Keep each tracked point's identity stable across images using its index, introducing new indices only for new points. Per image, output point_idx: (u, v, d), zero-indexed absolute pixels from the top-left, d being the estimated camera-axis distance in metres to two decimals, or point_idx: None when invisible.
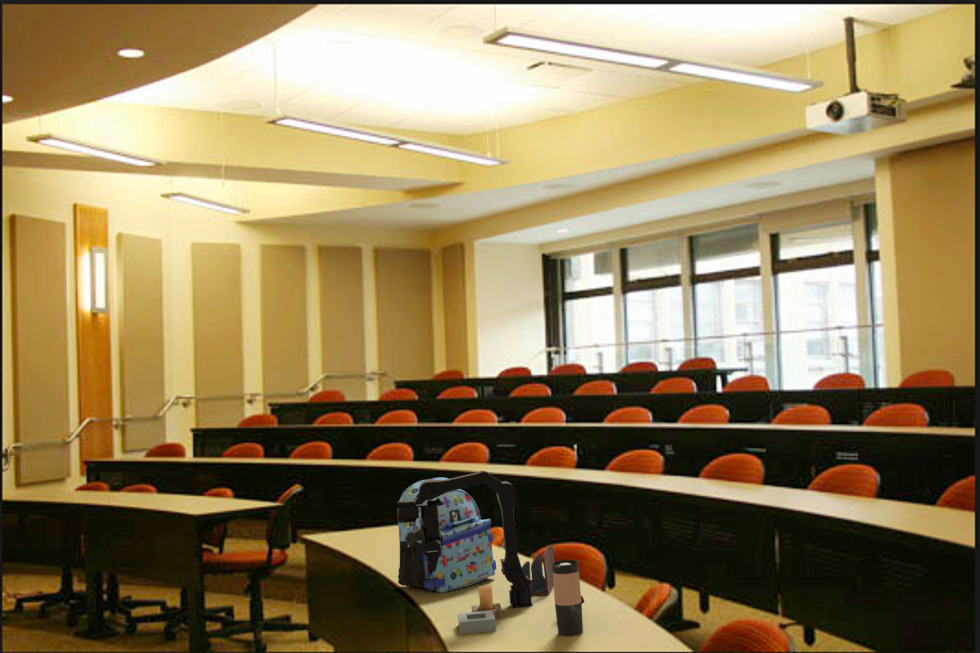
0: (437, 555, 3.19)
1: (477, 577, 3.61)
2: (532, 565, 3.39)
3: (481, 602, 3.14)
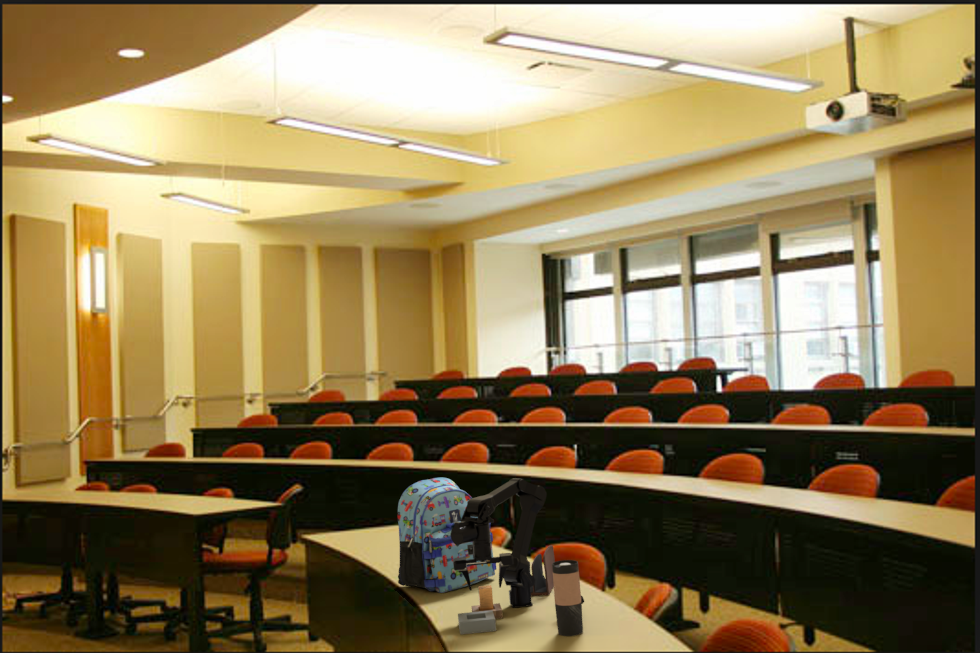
0: (464, 575, 3.15)
1: (477, 577, 3.61)
2: (532, 565, 3.39)
3: (481, 602, 3.14)
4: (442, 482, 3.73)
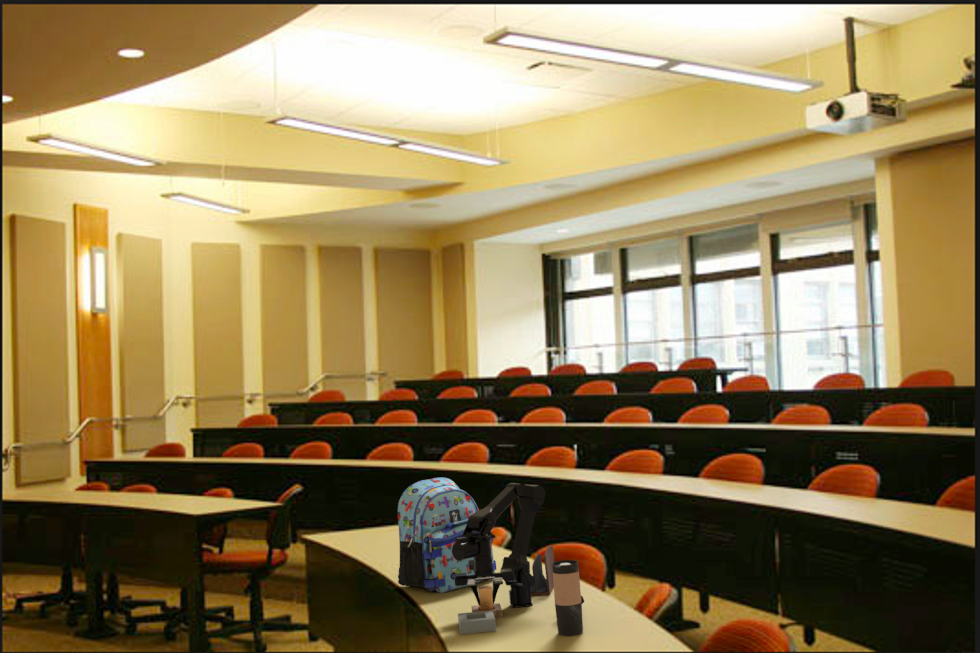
0: None
1: None
2: (533, 565, 3.39)
3: (481, 602, 3.14)
4: (442, 482, 3.73)
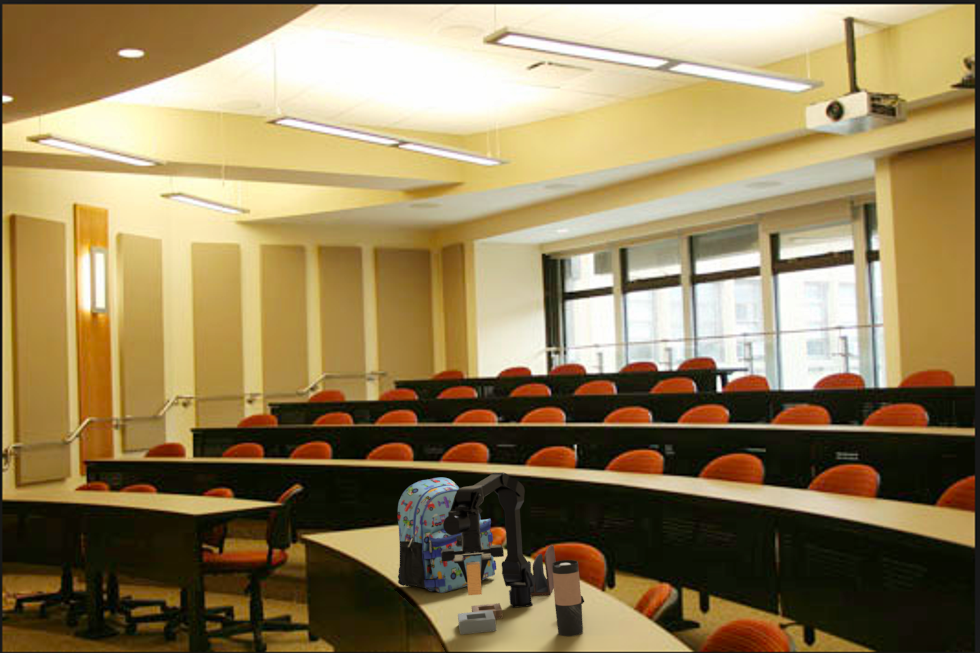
0: None
1: None
2: (534, 565, 3.39)
3: (468, 578, 3.03)
4: (442, 482, 3.73)
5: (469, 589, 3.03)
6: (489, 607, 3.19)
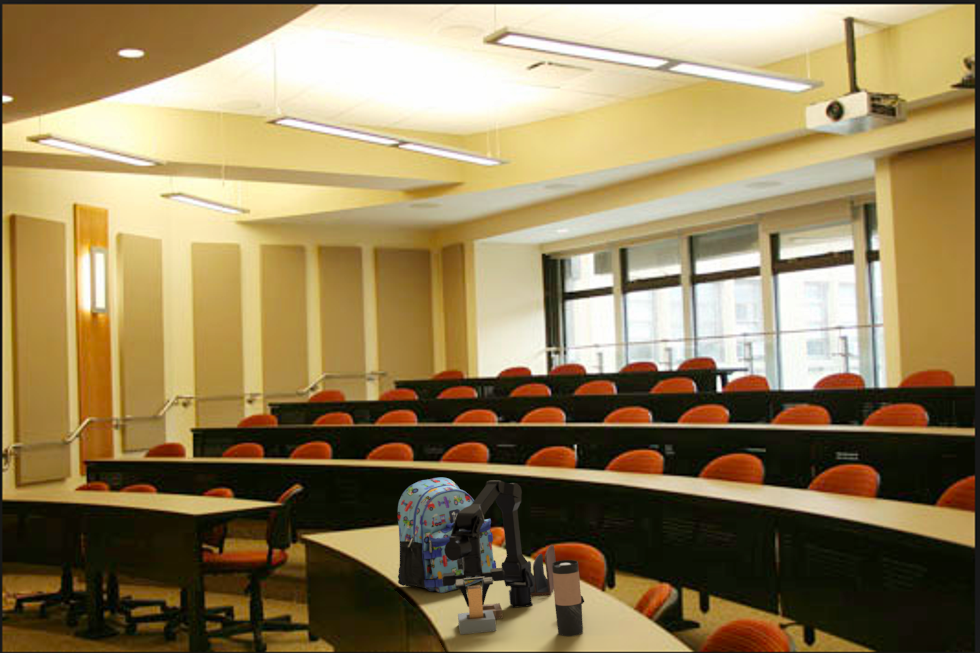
0: (461, 590, 3.01)
1: None
2: (534, 565, 3.39)
3: (470, 603, 3.01)
4: (442, 482, 3.73)
5: (471, 613, 3.01)
6: (489, 607, 3.19)
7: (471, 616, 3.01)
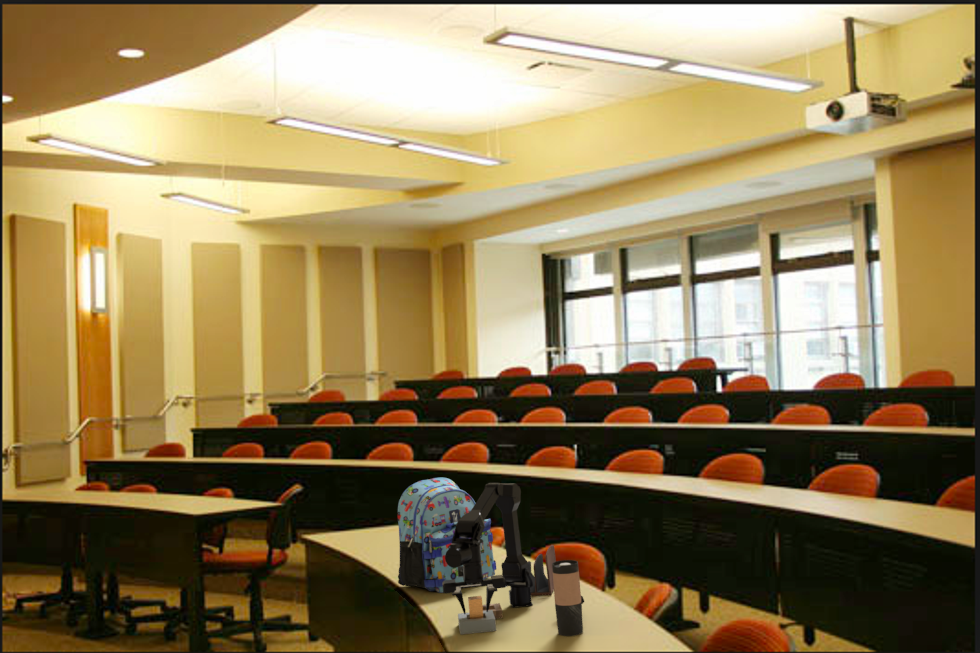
0: None
1: None
2: (535, 565, 3.39)
3: (471, 613, 3.01)
4: (442, 482, 3.73)
5: None
6: (489, 607, 3.19)
7: None
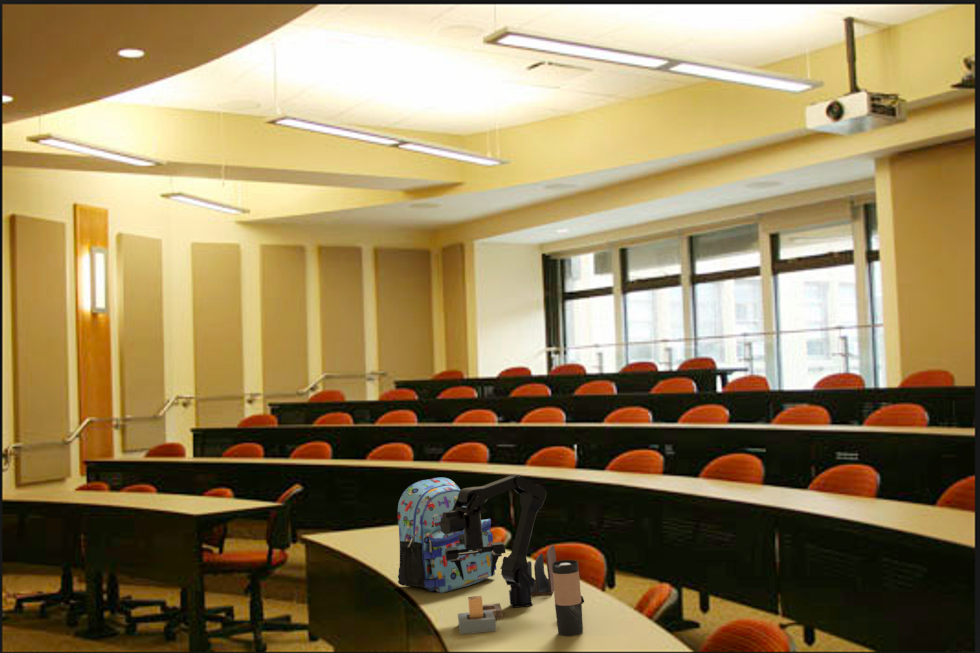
0: (456, 564, 3.16)
1: (477, 577, 3.61)
2: (535, 565, 3.39)
3: (471, 613, 3.01)
4: (442, 482, 3.73)
5: None
6: (489, 607, 3.19)
7: None
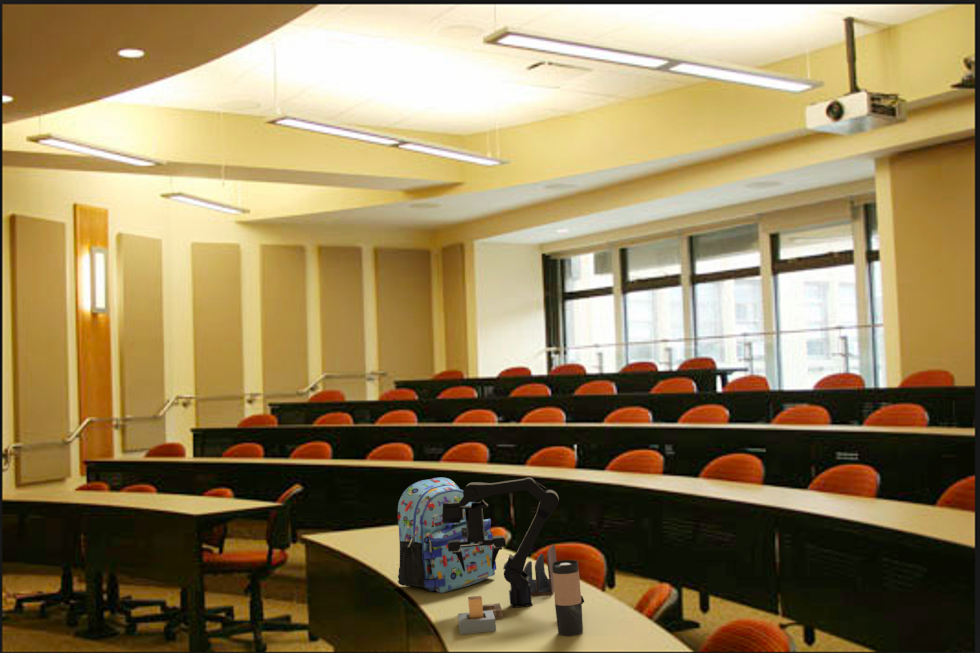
0: None
1: (477, 577, 3.61)
2: (536, 565, 3.39)
3: (471, 613, 3.01)
4: (442, 482, 3.73)
5: None
6: (489, 607, 3.19)
7: None
